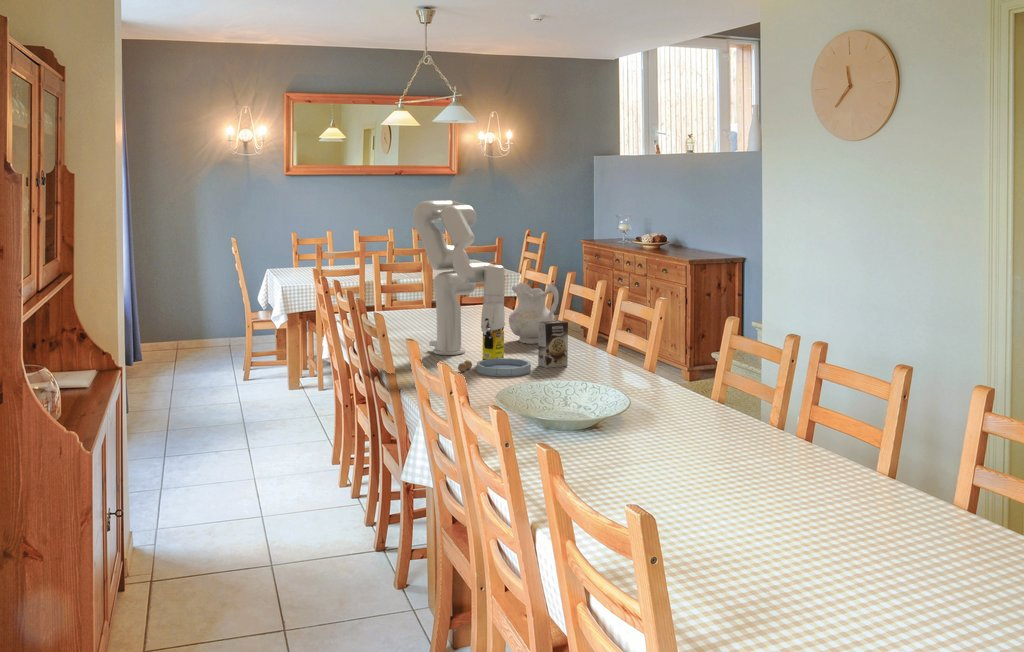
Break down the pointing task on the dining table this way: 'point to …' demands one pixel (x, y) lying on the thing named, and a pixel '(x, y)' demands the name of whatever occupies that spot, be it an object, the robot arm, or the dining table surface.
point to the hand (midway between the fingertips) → (493, 346)
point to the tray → (503, 367)
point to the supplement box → (494, 346)
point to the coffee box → (553, 344)
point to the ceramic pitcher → (531, 311)
